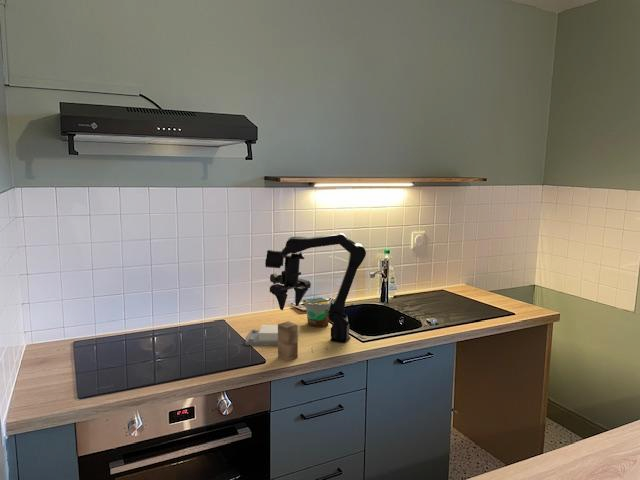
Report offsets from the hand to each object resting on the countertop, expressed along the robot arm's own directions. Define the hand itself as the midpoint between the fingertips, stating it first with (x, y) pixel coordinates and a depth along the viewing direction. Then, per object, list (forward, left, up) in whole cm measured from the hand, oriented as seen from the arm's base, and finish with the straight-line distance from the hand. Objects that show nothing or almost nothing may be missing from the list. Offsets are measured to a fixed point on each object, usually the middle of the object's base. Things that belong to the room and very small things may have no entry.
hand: (289, 307), depth 197 cm
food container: (-3, -19, -13) cm, 24 cm away
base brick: (+6, +3, -13) cm, 15 cm away
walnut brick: (-8, +18, -13) cm, 23 cm away
